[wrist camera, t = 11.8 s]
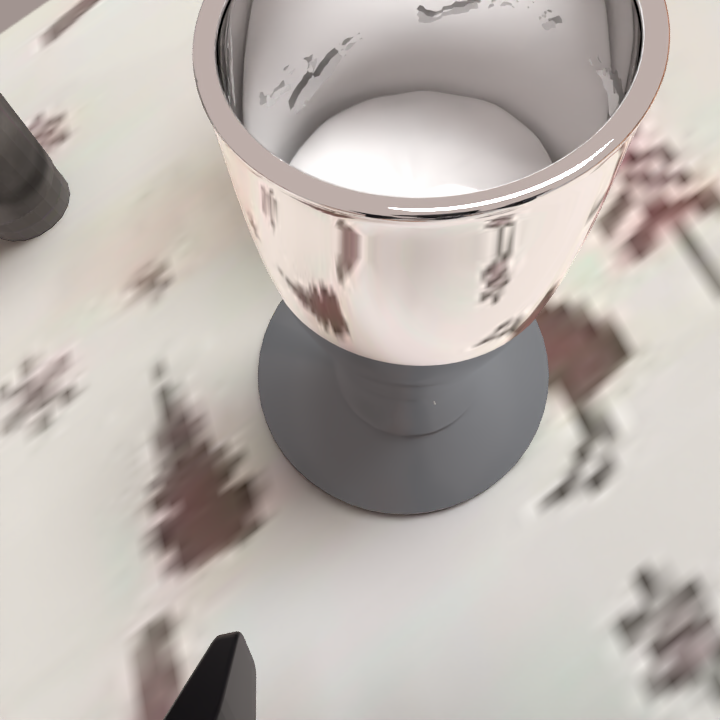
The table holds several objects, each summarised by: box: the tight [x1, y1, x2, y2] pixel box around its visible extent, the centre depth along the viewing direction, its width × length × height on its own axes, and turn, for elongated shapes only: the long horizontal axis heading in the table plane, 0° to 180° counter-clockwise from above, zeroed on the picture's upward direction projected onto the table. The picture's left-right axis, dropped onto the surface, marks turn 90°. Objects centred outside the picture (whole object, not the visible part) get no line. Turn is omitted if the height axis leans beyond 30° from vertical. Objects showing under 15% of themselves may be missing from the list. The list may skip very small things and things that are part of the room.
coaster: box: [258, 300, 549, 514], centre depth 21 cm, size 12×12×1 cm
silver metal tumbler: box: [192, 0, 670, 436], centre depth 14 cm, size 7×7×15 cm
